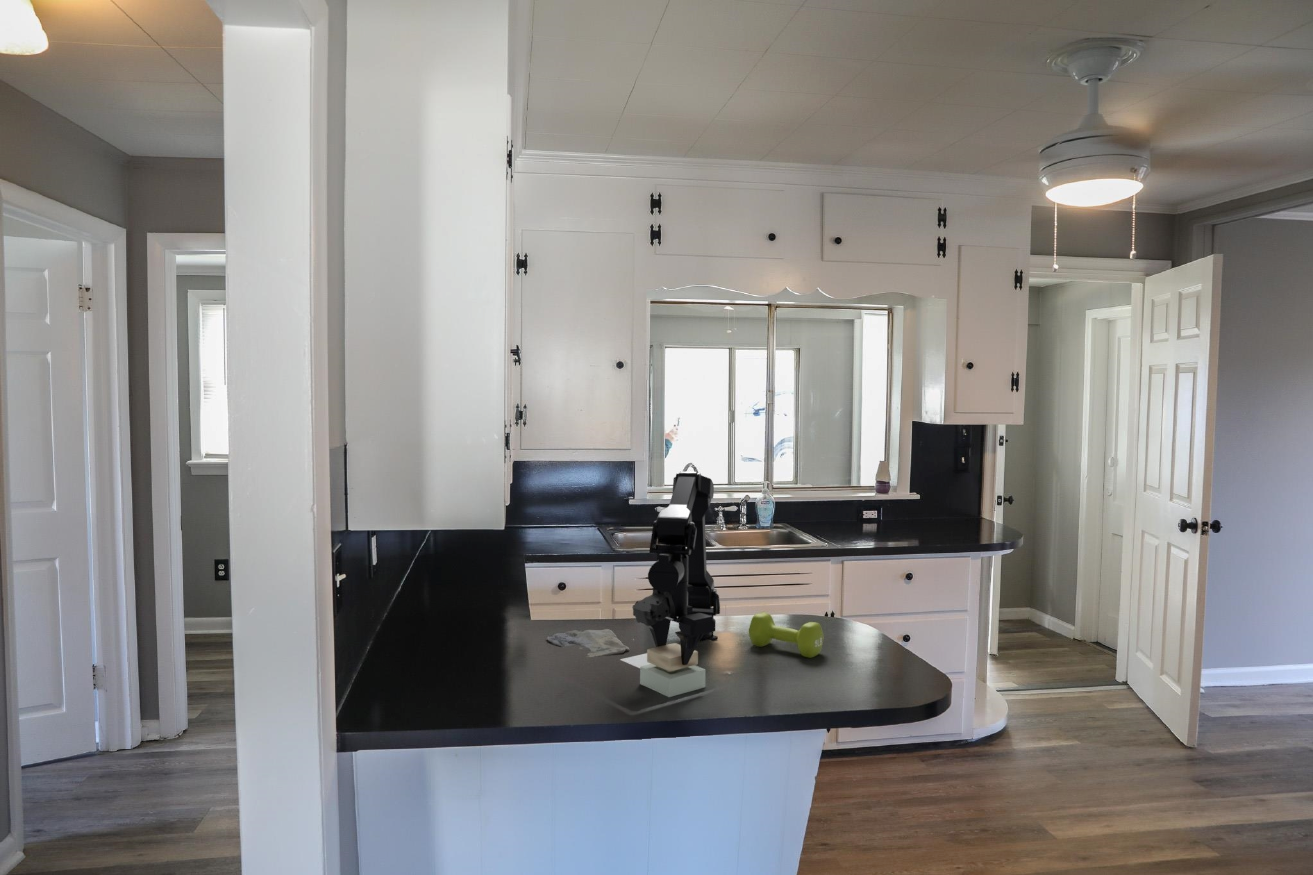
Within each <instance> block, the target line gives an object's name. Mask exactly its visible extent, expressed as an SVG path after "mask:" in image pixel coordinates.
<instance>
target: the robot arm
mask: <svg viewBox="0 0 1313 875" xmlns="http://www.w3.org/2000/svg"><path fill="white" fill-rule="evenodd" d="M672 479H673V482H672V483H673V484H672V495H671V497H670V502H669V504H668V506H667V507H666V508H664V509H661V510H660V511H659V513H658V516H656V520H654V521H653V522H652V523H653V525H652V530H651V531H652V532H651V538H650V543H649V544H650V545H649V554H654V555H655V554H656V558H657V559H656V561H655V562H654V563H653V564H652V565H651V566H650V568H649V569H648V573H647V579H648V582H649V585H650V586H651V587H652V594H651V595H649V596H646V597H644V598H642V599H640V600H637V601H636V602H635V603H634V604H633V605H632V615H633V616H634V617H635V620H636V622H637V623H639V624H640V623H641V624H643V625H644V626H647V628H648V629H649V631H650V633H651V636H652V639H653V643H654V646H655V647H659V646H664V645H667V643H668V637H669V632H670V626H671V621H672V622H675V623H677V624H678V628H679V629H678V630H679V631H675V633H674V634H675V635H676V636H677V637H678V638H679V640H680V641H679V642H680V645H681V659H682V665H687V664H688V662H689V660H690V658H691V656H692V654H693V652H694V650H695V651H696V648H697V646H698V644H699V643H700V642H703V641H707V640H709V641H714V640H718V639H719V636H717V635H714V632H716V624H717V622H716V619H715V618H714V616H716V615H720V614H721V602H720V595H719V594H718V590H717V588H716V589H715V579H714V577H712V576H711V574H710V572H709V571H708V570H707V547H706V541H707V540H706V538H707V537H706V514H707V512H708V510H709V509H710V505H711V502H712V500H713V499H714V492H715V491H714V490H715V486H714V482H713V480H712V479H711V478H709V477H707V476H704V475H702V474H701V472H698V471H679V472H676V474H675V476H674V477H673V478H672Z"/></svg>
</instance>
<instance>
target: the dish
mask: <svg viewBox="0 0 1313 875" xmlns="http://www.w3.org/2000/svg"><path fill="white" fill-rule="evenodd" d="M639 669H640V670H639V684H640V685H641V686H644V687H646V688H649V689H650V690H653V691H655V692H657V693H658V694H659V693H660V694H661V695H663V696H666V697H667V698H671V697H674V696H678V695H682V694H685V693H689V692H693V691H696V690H701V689H703V688H706V671H707V670H706V669H705V668H704V667H700V666H698V665H693V666H689V667H685V668H682V669H678V670H674V671H667V670H665V669H663V668H660V667H658V666H655V665H653V664H648V665H644V666H640V668H639Z"/></svg>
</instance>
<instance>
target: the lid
mask: <svg viewBox="0 0 1313 875" xmlns="http://www.w3.org/2000/svg"><path fill="white" fill-rule="evenodd" d="M646 653H647V662H648V663H651V664H653V665H655V666H658V667H660V668H663V669H665V670H667V671H674V670H678V669H682V668H685V667H689V666H693V665H695V666H698V665H699V651H698V650H696V649H695V650H694V652H693V654H692V656H691V658H690V660H689V662H688V664H687V665H682V659H681V644H679V643H677V642H672V643H669V644H666V645H664V646H659V647H656V646H655V647H651V648H647V649H646Z"/></svg>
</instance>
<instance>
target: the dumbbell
mask: <svg viewBox="0 0 1313 875" xmlns="http://www.w3.org/2000/svg"><path fill="white" fill-rule="evenodd" d="M748 636H749V640H750V641H751V643H752V645H754V646H755V647H760V648H761V647H765V646H767V645H769V644H771V642H772V641H773V640H775V641H780V642H786V643H791V644H795V645H796V644H797V648H798V652H799V653H800V655H801V656H802V657H804V658H810V659H811V658H814V657H816V656H818V655H819V654H821V651H822V648H823V643H824V639H825V638H824V637H825V636H824V631H823V629H822V626H821V624H820V623H819V622H815V621H814V622H813V621H809V622H805V623H804V624H803V625H801V626H800V629H799V630H797V629H795V628H790V627H785V626H781V625H780V626H779V625H775V620H774V618H773V617H772V615H771V614H770V613H768V612H759V613H756V614H754V615H753V616H752V618H751V620H750V624H749V627H748Z"/></svg>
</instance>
